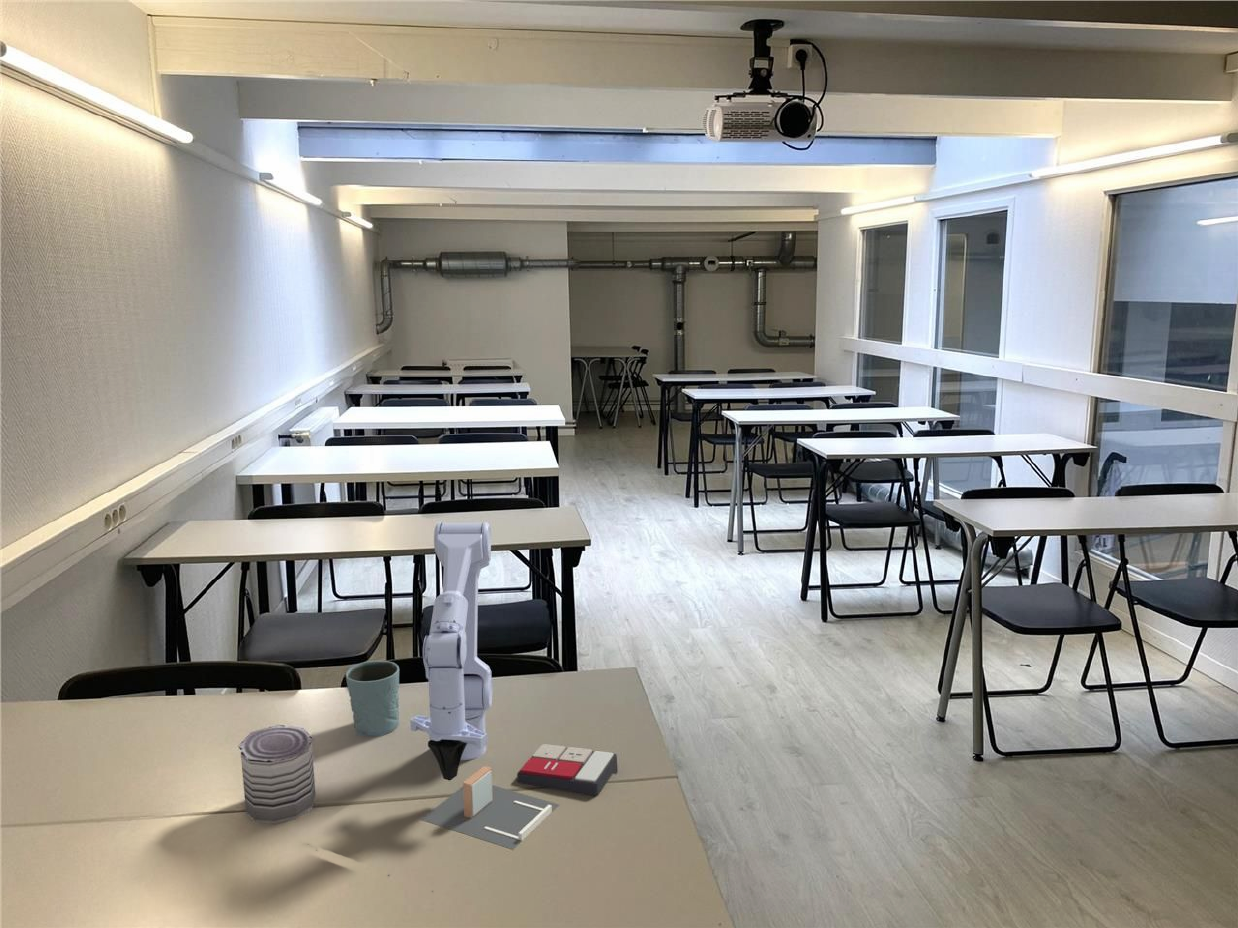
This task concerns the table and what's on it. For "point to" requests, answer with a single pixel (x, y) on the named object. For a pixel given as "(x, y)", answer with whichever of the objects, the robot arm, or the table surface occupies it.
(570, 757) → the calculator
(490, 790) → the tile
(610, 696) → the table surface
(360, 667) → the green cup
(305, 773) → the can
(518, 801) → the mat
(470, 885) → the table surface
